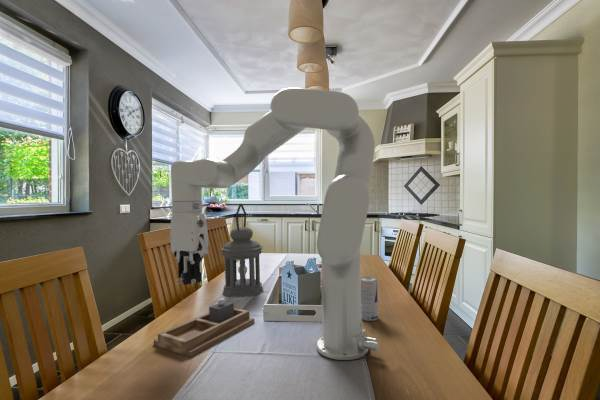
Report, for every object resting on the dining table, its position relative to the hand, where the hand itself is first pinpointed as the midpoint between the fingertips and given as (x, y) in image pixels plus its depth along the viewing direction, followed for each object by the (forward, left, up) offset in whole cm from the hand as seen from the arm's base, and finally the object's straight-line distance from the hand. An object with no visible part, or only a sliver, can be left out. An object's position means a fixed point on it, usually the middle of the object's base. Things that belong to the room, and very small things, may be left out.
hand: (189, 276), depth 88 cm
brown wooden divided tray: (0, -6, -17) cm, 18 cm away
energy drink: (-36, -37, -17) cm, 54 cm away
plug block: (0, -11, -16) cm, 20 cm away
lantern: (+18, -42, -17) cm, 49 cm away
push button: (0, 0, -2) cm, 2 cm away
